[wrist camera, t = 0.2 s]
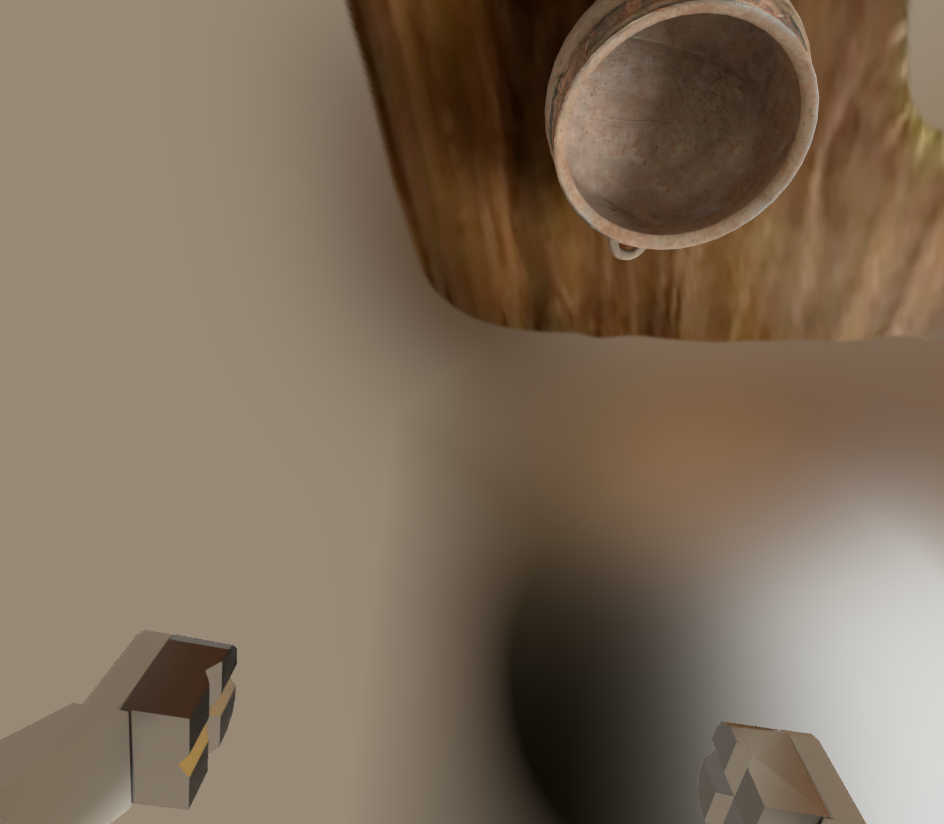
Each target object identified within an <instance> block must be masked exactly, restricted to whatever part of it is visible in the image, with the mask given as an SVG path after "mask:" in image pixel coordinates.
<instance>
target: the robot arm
mask: <svg viewBox="0 0 944 824" xmlns="http://www.w3.org/2000/svg"><path fill="white" fill-rule="evenodd" d="M236 665H237V648H236V647H235V646H234V645H230V644H224V643H219V642H214V641H208V640H203V639H197V638H192V637H186V636H180V635H170V634H165V633H160V632H155V631H150V630H144V631H142V632H141V633H139V634H137V635H136V636H135V637H134V639H133V640H132V642H131V643H130V644H129V645H128V646H127V648H126V649H125V650H124V652H123V653H122V654H121V655H120V657H119V658H118V659H117V660H116V662H115V663H114V665H113V666H112V667H111V668H110V670H109V671H108V672H107V673H106V675H105V676H104V677H103V678H102V680H101V681H100V682H99V684H98V685H97V686H96V687H95V689H94V690H93V691H92V692H91V694H90V695H89V696H88V698H87V699H86V700H85V701H84V703H83V704H77V703H72V704H70V705H68V706H66V707H64V708H62V709H60V710H59V711H56V712H54V713H53V714H51V715H48V716H46V717H44V718H43V719H41V720H39V721H37V722H35V723H33V724H31V725H29V726H27V727H25V728H23V729H21V730H19V731H17V732H15V733H13V734H11V735H9V736H8V737H6V738H4V739H2V740H0V824H111V823H112V822H113V821H114V820H115V819H117V818H118V817H119V816H120V815H122V814H123V813H124V812H126V811H127V810H128V809H129V808H131V803H135V804H143V805H152V806H160V807H169V808H178V809H185V810H189V808H190V806H191V804H192V802H193V800H194V798H195V796H196V794H197V792H198V790H199V788H200V786H201V784H202V782H203V779H204V777H205V775H206V773H207V771H208V754H209V753H211V752H212V751H214V750H215V749H216V748H218V747H219V746H220V744H221V742H222V740H223V738H224V735H225V733H226V731H227V728H228V725H229V722H230V719H231V716H232V712H233V707H234V701H235V692H236V685H235V684H234V682H233V681H232V680H231V678H230V677H231V674H232V673H233V671H234V669H235V666H236ZM712 740H713V743H714V746H715V748H716V750H715V751H714V752H712V753H711V754H710V755H708V756H707V757H705V758H704V760H703V763H702V765H701V768H700V771H699V777H698V796H699V803H700V808H701V811H702V814H703V818H704V821H705V822H706V823H707V824H866V823H865V821H864V819H863V817H862V816H861V814H860V812H859V810H858V808H857V807H856V805H855V803H854V802H853V800H852V798H851V796H850V794H849V793H848V791H847V789H846V787H845V786H844V784H843V782H842V780H841V779H840V777H839V775H838V773H837V772H836V770H835V768H834V766H833V765H832V763H831V761H830V759H829V758H828V756H827V754H826V752H825V751H824V749H823V747H822V745H821V744H820V742H819V740H818V739H817V738H815V737H814V736H813V735H812V734H807V733H800V732H793V731H786V730H777V729H771V728H763V727H757V726H750V725H743V724H736V723H730V722H723V721H722V722H721V723H720V724H719V725H718V726H717V727H716V729H715V732H714V734H713V737H712Z"/></svg>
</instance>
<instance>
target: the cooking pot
mask: <svg viewBox="0 0 944 824" xmlns="http://www.w3.org/2000/svg"><path fill="white" fill-rule="evenodd" d="M818 105H819V94H818V86H817V78H816V74H815V71H814V68H813V65H812V61H811V53H810V45H809V40H808V38H807V35H806V32H805V29H804V26H803V23H802V20H801V18H800V16H799V15H798V13H797V12H796V10H795V8H794V7H793V5H792V4H791V2H790V1H789V0H596V1H595V2H594V3H593V4H592V5H591V6H590V7H589V8H588V9H587V10H586V12H585V13H584V14H583V15H582V16H581V17H580V19H579V20H578V21H577V23H576V24H575V26H574V27H573V29H572V30H571V31H570V33H569V34H568V36H567V37H566V39H565V41H564V43H563V45H562V47H561V49H560V51H559V53H558V55H557V57H556V59H555V62H554V66H553V69H552V72H551V76H550V79H549V82H548V88H547V96H546V103H545V126H546V135H547V140H548V144H549V148H550V153H551V156H552V158H553V160H554V164H555V168H556V173H557V177H558V181H559V184H560V186H561V188H562V190H563V193H564V195H565V197H566V199H567V201H568V202H569V203H570V205H571V206H572V208H573V209H574V211H575V212H576V213H577V214H578V215H579V216H580V217H581V218H582V219H583V220H584V221H585V222H586V223H587V224H588V225H589V226H590V227H592V228H593V229H595V230H596V231H598V232H599V233H601V234H602V235H604V236H606V237H608V244H609V248H610V251H611V253H612V255H613V256H614V257H616V258H618V259H621V260H631V259H634V258H636V257H637V256H639V255H640V254H641V253H642V252H644V251H645V250H646V249H656V250H662V249H679V248H684V247H689V246H695V245H699V244H702V243H705V242H708V241H711V240H714V239H717V238H719V237H721V236H724V235H726V234H728V233H730V232H732V231H734V230H736V229H738V228H739V227H741V226H742V225H744V224H745V223H747V222H748V221H750V220H752V219H753V218H755V217H756V216H757V215H758V214H760V213H761V212H762V211H763V210H764V209H765V208H767V207H768V206H769V205H770V204H771V203H772V202H773V201H774V200H775V199H776V198H777V197H778V196H779V195H780V194H781V192H782V191H783V190H784V189H785V188H786V187H787V186H788V184H789V183H790V182H791V180H792V179H793V177H794V175H795V174H796V172H797V171H798V169H799V168H800V166H801V165H802V163H803V160H804V158H805V156H806V154H807V152H808V149H809V147H810V145H811V142H812V139H813V135H814V131H815V127H816V124H817V117H818ZM618 242H619V243H622V244H626V245H630V246H633V247H634V248H633V249H631V250H623V249H620V248H619V243H618Z"/></svg>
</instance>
